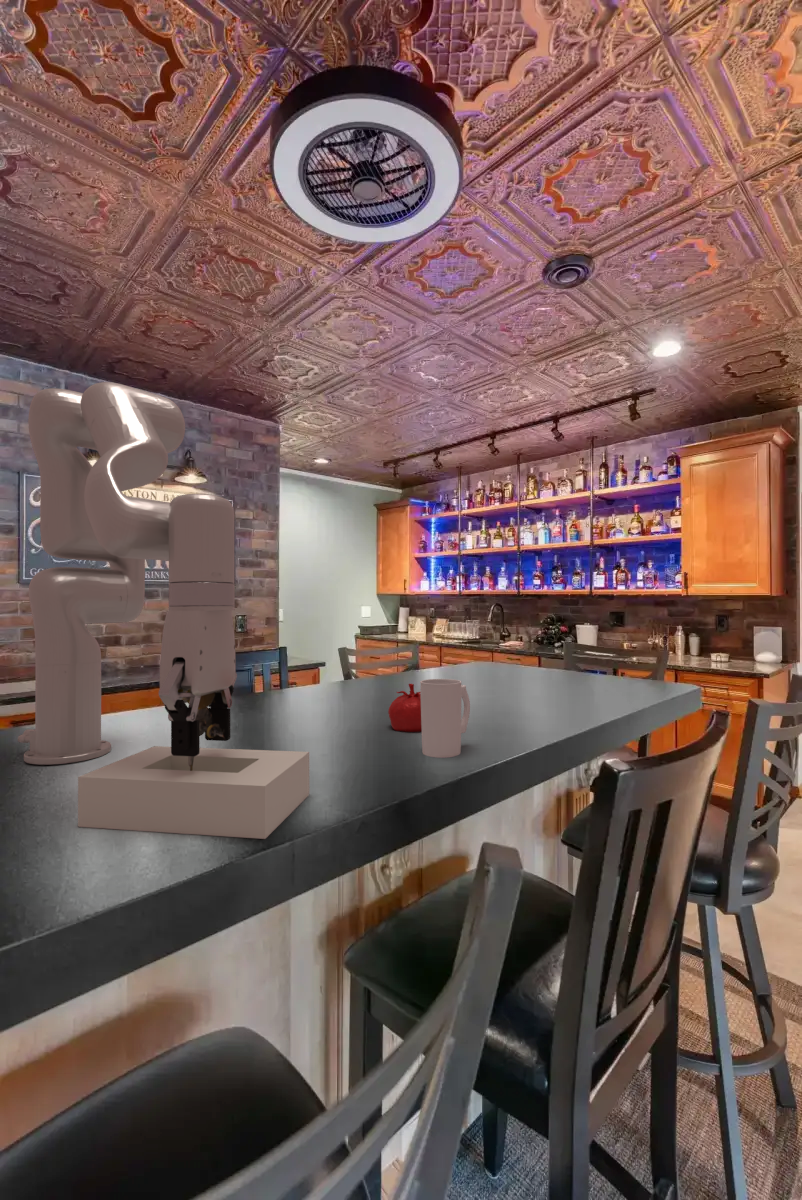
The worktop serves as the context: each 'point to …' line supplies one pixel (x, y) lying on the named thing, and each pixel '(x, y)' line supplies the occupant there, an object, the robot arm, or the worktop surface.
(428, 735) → the mug
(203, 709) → the regulator
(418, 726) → the pomegranate
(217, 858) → the worktop surface
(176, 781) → the stand
